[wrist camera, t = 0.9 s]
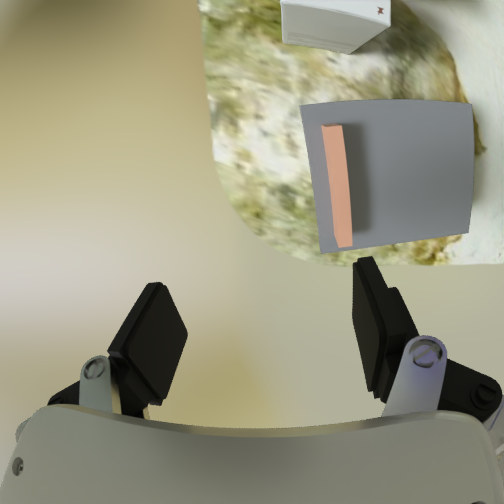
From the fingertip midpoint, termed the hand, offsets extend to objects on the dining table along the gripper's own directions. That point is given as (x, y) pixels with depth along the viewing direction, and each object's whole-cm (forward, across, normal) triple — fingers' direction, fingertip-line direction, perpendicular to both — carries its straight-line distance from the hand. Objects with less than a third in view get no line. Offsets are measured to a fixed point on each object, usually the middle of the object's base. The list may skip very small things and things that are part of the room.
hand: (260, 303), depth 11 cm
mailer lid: (+16, -12, 0) cm, 20 cm away
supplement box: (+22, -8, -16) cm, 29 cm away
